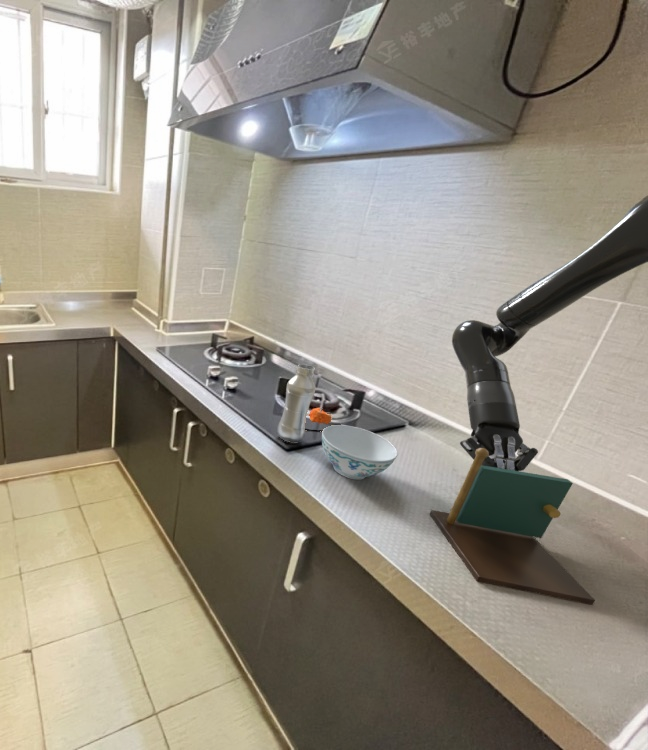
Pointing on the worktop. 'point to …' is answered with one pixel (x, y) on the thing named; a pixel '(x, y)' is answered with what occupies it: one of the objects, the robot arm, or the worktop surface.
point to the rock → (319, 416)
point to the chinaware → (357, 451)
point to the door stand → (505, 552)
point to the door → (513, 501)
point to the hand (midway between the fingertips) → (505, 492)
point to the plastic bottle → (297, 404)
